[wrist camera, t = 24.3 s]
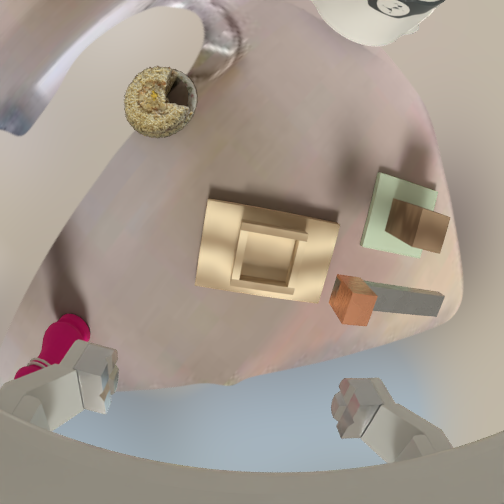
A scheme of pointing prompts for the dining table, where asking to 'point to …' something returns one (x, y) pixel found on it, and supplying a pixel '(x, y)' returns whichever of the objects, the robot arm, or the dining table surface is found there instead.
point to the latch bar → (379, 300)
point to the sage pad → (380, 210)
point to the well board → (264, 251)
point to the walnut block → (417, 226)
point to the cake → (158, 102)
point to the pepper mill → (57, 343)
